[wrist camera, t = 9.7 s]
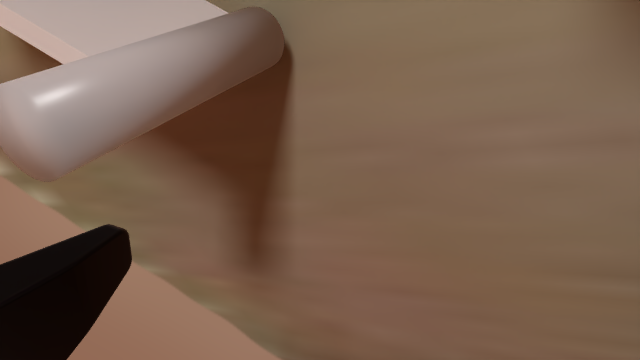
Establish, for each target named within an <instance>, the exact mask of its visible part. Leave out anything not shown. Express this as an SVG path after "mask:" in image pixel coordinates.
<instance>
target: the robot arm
mask: <svg viewBox="0 0 640 360" xmlns="http://www.w3.org/2000/svg"><path fill="white" fill-rule="evenodd" d="M131 262H132V255H131V247H130V240H129V234H128V232H127V231H126V230H125V229H123V228H120V227H117V226H114V225H110V224H107V225H103V226H101V227H98V228H95V229H93V230H90V231H87V232H85V233H82V234H80V235H77V236H74V237H72V238H69V239H66V240H64V241H61V242H59V243H56V244H53V245H51V246H48V247H45V248H43V249H40V250H38V251H35V252H32V253H30V254H27V255H24V256H22V257H19V258H17V259H14V260H11V261H9V262H6V263H3V264H1V265H0V360H67V358H68V357H69V356H70V355H71V353H72V352H73V351H74V350H75V348H76V347H77V346H78V344H79V343H80V342H81V341H82V339H83V338H84V337H85V335H86V334H87V333H88V332H89V330H90V328H91V327H92V326H93V324H94V323H95V321H96V320H97V318H98V317H99V315H100V313H101V312H102V310H103V309H104V307H105V306H106V304H107V302H108V301H109V300H110V298H111V296H112V295H113V293H114V292H115V290H116V289H117V287H118V286H119V284H120V283H121V281H122V279H123V278H124V276H125V275H126V273H127V271H128V270H129V268H130V266H131Z"/></svg>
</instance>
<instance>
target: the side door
mask: <svg viewBox="0 0 640 360" xmlns="http://www.w3.org/2000/svg"><path fill="white" fill-rule="evenodd" d="M0 26H1V27H3V28H5V29H6V30H8V31H9V32H11V33H13V34H14V35H16V36H18V37H19V38H21V39H23V40H24V41H26V42H28V43H29V44H31V45H33V46H34V47H36V48H37V49H39V50H41V51H42V52H44V53H46V54H47V55H49V56H51V57H52V58H54V59H56V60H57V61H59V62H60V63H62V64H63V65H60V66H57V67H53V68H50V69H47V70H44V71H41V72H37V73H34V74H31V75H28V76H24V77H21V78H18V79H15V80H11V81H8V82H5V83H2V84H0V146H1V148H2V149H3V151H4V152H5V153H6V155H7V156H8V157H9V158H10V159H11V161H12V162H13V163H14V164H15V165H16V166H17V167H18V168H20V169H21V170H22V171H23V172H25V173H26V174H27V175H29V176H31V177H32V178H35V179H37V180H40V181H44V182H51V181H54V180H56V179H58V178H60V177H62V176H64V175H66V174H68V173H70V172H72V171H74V170H76V169H77V168H79V167H81V166H83V165H85V164H87V163H89V162H91V161H93V160H95V159H97V158H98V157H100V156H102V155H104V154H106V153H108V152H110V151H112V150H114V149H116V148H118V147H119V146H121V145H123V144H125V143H127V142H129V141H131V140H133V139H135V138H137V137H139V136H140V135H142V134H144V133H146V132H148V131H150V130H152V129H154V128H156V127H158V126H160V125H161V124H163V123H165V122H167V121H169V120H171V119H173V118H175V117H177V116H179V115H181V114H182V113H184V112H186V111H188V110H190V109H192V108H194V107H196V106H198V105H200V104H202V103H203V102H205V101H207V100H209V99H211V98H213V97H215V96H217V95H219V94H221V93H223V92H224V91H226V90H228V89H230V88H232V87H234V86H236V85H238V84H240V83H242V82H244V81H245V80H247V79H249V78H251V77H253V76H255V75H257V74H259V73H261V72H263V71H264V70H266V69H268V68H270V67H272V66H274V65H275V64H276V63H277V62H278V61H279V60H280V58H281V56H282V54H283V50H284V36H283V32H282V29H281V27H280V24H279V23H278V21H277V20H276V18H275V17H274V16H273V15H272V14H271V13H269V12H268V11H266V10H265V9H263V8H260V7H247V8H244V9H241V10H238V11H234V12H231V13H228V12H226V11H224V10H222V9H220V8H218V7H217V6H215V5H213V4H211V3H209V2H207V1H205V0H0Z"/></svg>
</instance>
